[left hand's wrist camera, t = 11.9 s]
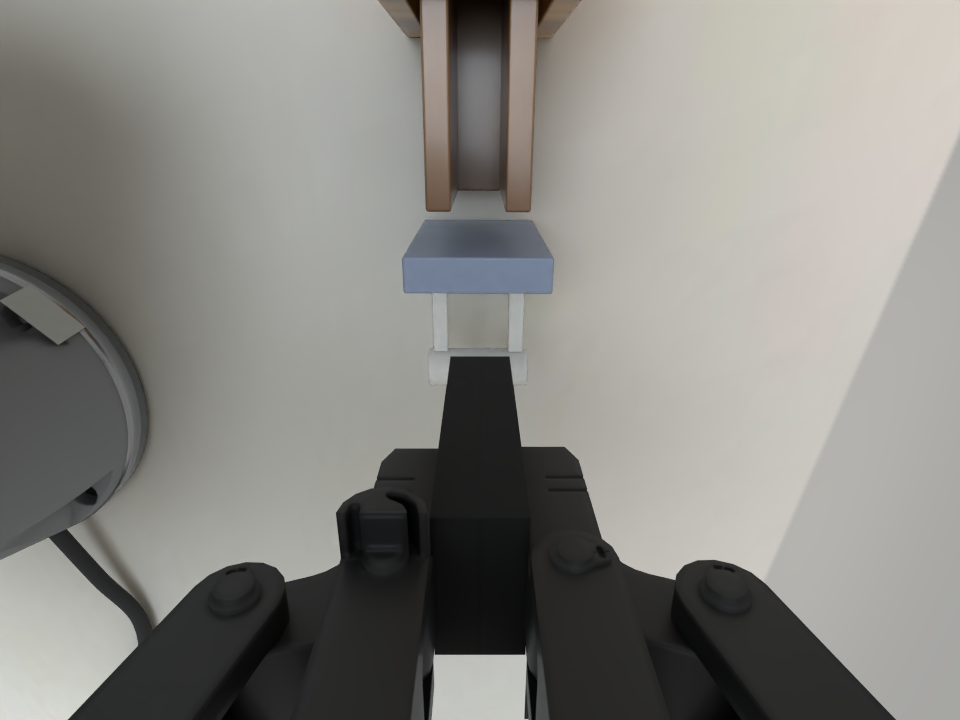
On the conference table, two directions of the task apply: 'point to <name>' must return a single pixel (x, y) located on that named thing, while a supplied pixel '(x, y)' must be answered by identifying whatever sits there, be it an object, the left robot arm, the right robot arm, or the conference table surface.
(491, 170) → the drawer
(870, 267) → the conference table surface
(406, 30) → the tan wooden box
